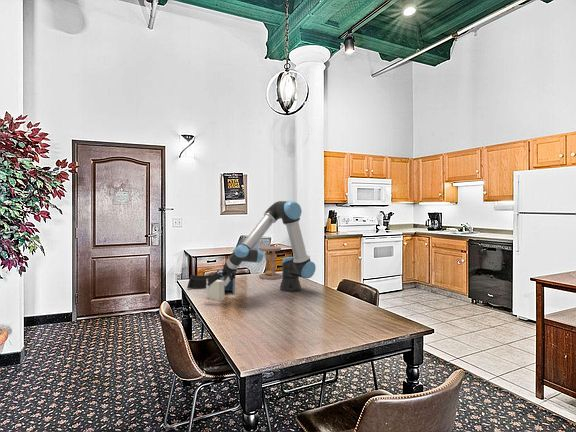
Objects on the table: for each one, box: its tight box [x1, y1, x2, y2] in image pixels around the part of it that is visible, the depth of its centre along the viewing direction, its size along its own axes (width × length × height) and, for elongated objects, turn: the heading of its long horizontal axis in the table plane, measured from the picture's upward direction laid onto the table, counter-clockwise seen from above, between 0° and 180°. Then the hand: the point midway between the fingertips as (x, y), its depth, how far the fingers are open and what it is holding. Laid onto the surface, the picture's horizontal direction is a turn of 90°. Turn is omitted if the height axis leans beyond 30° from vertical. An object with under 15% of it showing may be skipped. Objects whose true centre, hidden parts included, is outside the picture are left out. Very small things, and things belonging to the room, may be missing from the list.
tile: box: [206, 280, 225, 302], centre depth 233 cm, size 13×4×12 cm, turn 48°
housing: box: [219, 269, 236, 296], centre depth 250 cm, size 14×8×14 cm, turn 18°
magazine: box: [187, 274, 220, 290], centre depth 263 cm, size 17×3×30 cm
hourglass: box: [259, 245, 282, 281], centre depth 301 cm, size 18×18×25 cm
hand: (216, 286), depth 230 cm, fingers open, 13 cm apart
